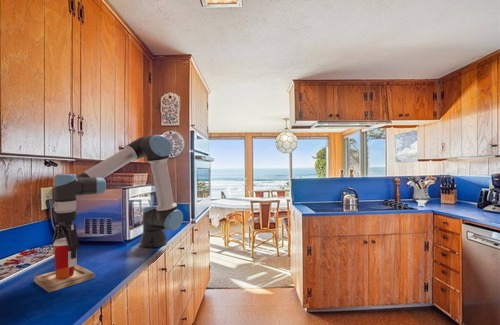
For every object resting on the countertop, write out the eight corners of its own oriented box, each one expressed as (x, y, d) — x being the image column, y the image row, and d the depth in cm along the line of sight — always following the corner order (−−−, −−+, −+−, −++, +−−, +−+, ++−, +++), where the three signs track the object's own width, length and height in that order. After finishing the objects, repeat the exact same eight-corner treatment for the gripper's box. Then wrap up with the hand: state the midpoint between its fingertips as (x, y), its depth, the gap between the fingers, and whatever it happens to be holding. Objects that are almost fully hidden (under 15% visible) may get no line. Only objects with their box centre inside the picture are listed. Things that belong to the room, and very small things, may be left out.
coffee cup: (69, 271, 116) (69, 236, 117) (81, 274, 113) (81, 238, 113) (47, 278, 109) (48, 240, 109) (59, 282, 105) (59, 243, 106)
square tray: (77, 269, 122) (77, 264, 122) (94, 278, 113) (94, 273, 113) (34, 281, 109) (34, 276, 109) (48, 292, 100) (48, 286, 100)
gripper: (43, 209, 116) (43, 259, 115) (67, 215, 101) (67, 272, 101) (63, 207, 122) (63, 254, 122) (89, 212, 107) (89, 266, 107)
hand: (65, 262), depth 111 cm, fingers open, 13 cm apart
